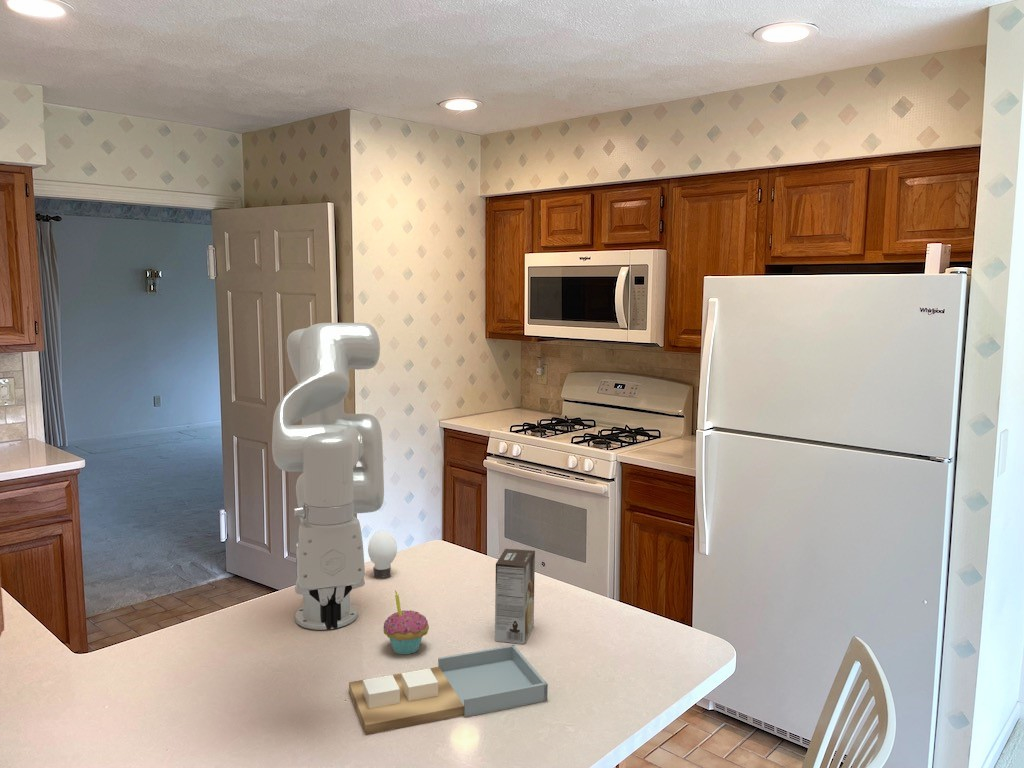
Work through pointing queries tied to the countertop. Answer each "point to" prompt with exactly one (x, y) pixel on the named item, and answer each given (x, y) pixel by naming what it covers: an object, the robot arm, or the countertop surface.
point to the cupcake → (405, 629)
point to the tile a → (381, 691)
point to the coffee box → (514, 596)
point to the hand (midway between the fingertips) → (330, 625)
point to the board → (407, 707)
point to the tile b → (419, 684)
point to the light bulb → (382, 553)
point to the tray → (493, 680)
